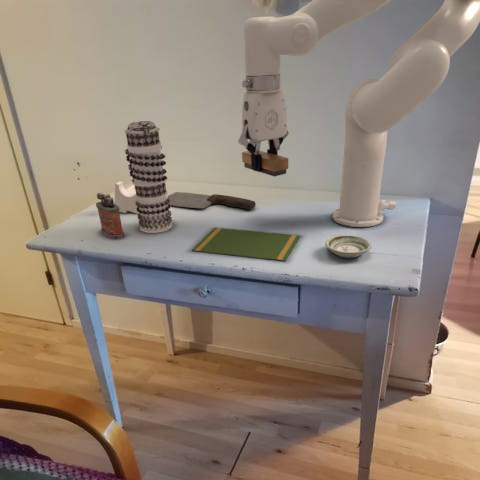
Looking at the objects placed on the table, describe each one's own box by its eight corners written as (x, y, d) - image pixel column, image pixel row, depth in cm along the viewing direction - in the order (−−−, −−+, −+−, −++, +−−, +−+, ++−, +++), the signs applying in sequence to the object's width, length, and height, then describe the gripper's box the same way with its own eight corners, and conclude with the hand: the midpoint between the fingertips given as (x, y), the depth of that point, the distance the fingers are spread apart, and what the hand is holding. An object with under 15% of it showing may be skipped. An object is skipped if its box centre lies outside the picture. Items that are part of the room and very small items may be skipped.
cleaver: (260, 205, 127) (259, 198, 126) (244, 216, 120) (243, 209, 118) (174, 195, 139) (173, 188, 138) (155, 205, 132) (153, 197, 131)
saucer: (376, 261, 94) (377, 250, 93) (331, 264, 94) (332, 254, 93) (361, 243, 103) (363, 233, 101) (320, 246, 102) (320, 236, 101)
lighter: (127, 236, 112) (120, 196, 107) (115, 240, 110) (107, 199, 105) (110, 228, 117) (102, 190, 112) (98, 232, 115) (90, 193, 110)
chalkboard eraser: (255, 164, 115) (254, 149, 113) (288, 173, 106) (288, 158, 104) (242, 167, 113) (241, 152, 111) (275, 177, 104) (274, 161, 102)
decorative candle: (134, 224, 119) (116, 122, 105) (168, 218, 122) (154, 118, 108) (143, 236, 112) (124, 128, 98) (178, 229, 115) (165, 123, 101)
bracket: (137, 216, 126) (139, 191, 122) (114, 209, 127) (115, 183, 122) (154, 201, 137) (157, 177, 132) (132, 195, 137) (134, 171, 133)
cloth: (300, 236, 107) (300, 235, 107) (285, 261, 96) (285, 260, 96) (214, 228, 114) (214, 227, 114) (191, 251, 103) (191, 249, 103)
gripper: (242, 89, 93) (245, 179, 103) (303, 81, 100) (301, 165, 110) (222, 87, 98) (227, 172, 108) (281, 79, 106) (281, 160, 116)
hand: (264, 168), depth 109 cm, fingers closed on chalkboard eraser, 4 cm apart
